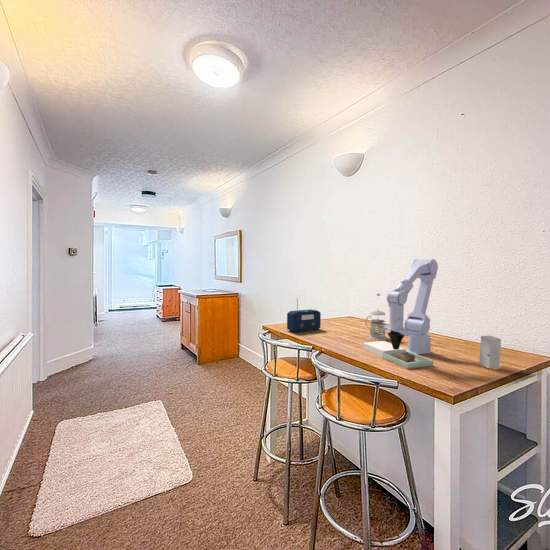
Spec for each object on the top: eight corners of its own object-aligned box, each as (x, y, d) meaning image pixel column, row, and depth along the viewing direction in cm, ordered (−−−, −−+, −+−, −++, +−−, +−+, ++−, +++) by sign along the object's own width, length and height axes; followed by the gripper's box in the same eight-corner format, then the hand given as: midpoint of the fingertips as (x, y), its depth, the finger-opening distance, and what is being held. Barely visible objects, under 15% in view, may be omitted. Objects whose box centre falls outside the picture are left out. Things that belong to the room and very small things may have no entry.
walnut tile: (414, 355, 126) (414, 361, 126) (406, 352, 130) (406, 358, 130) (405, 356, 124) (404, 362, 124) (396, 353, 129) (396, 359, 129)
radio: (293, 333, 180) (294, 300, 179) (286, 330, 188) (286, 298, 187) (321, 329, 190) (322, 298, 189) (313, 327, 198) (313, 297, 197)
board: (383, 346, 150) (383, 340, 150) (405, 355, 136) (405, 348, 136) (362, 348, 146) (363, 342, 146) (383, 357, 132) (383, 351, 132)
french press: (388, 340, 164) (389, 294, 164) (366, 339, 166) (367, 294, 165) (385, 336, 174) (385, 292, 173) (364, 335, 176) (364, 292, 175)
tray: (406, 355, 136) (406, 350, 136) (433, 365, 122) (433, 360, 122) (382, 358, 132) (382, 353, 132) (407, 369, 118) (407, 363, 118)
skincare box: (478, 364, 124) (479, 335, 123) (489, 364, 124) (490, 335, 123) (489, 369, 118) (489, 338, 117) (500, 369, 117) (501, 338, 117)
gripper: (378, 316, 138) (377, 345, 139) (400, 321, 124) (400, 354, 125) (391, 315, 140) (390, 344, 141) (414, 320, 127) (413, 352, 127)
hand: (395, 348), depth 133 cm, fingers closed
